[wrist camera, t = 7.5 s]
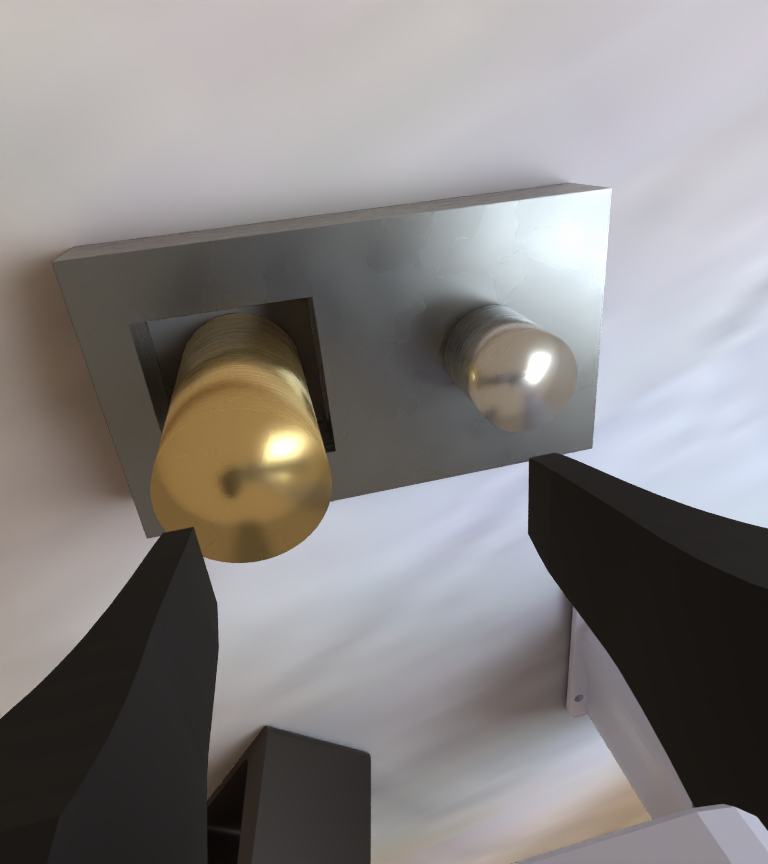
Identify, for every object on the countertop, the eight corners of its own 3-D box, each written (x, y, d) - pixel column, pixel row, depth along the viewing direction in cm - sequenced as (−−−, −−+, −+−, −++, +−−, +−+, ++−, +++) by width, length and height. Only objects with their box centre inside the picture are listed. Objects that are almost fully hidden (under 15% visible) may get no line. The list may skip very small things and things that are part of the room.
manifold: (560, 420, 24) (640, 490, 19) (155, 498, 22) (133, 600, 17) (570, 182, 20) (676, 196, 15) (74, 246, 18) (13, 286, 13)
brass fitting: (310, 409, 22) (345, 539, 15) (200, 433, 21) (181, 580, 14) (287, 302, 20) (313, 392, 13) (165, 325, 19) (124, 433, 12)
